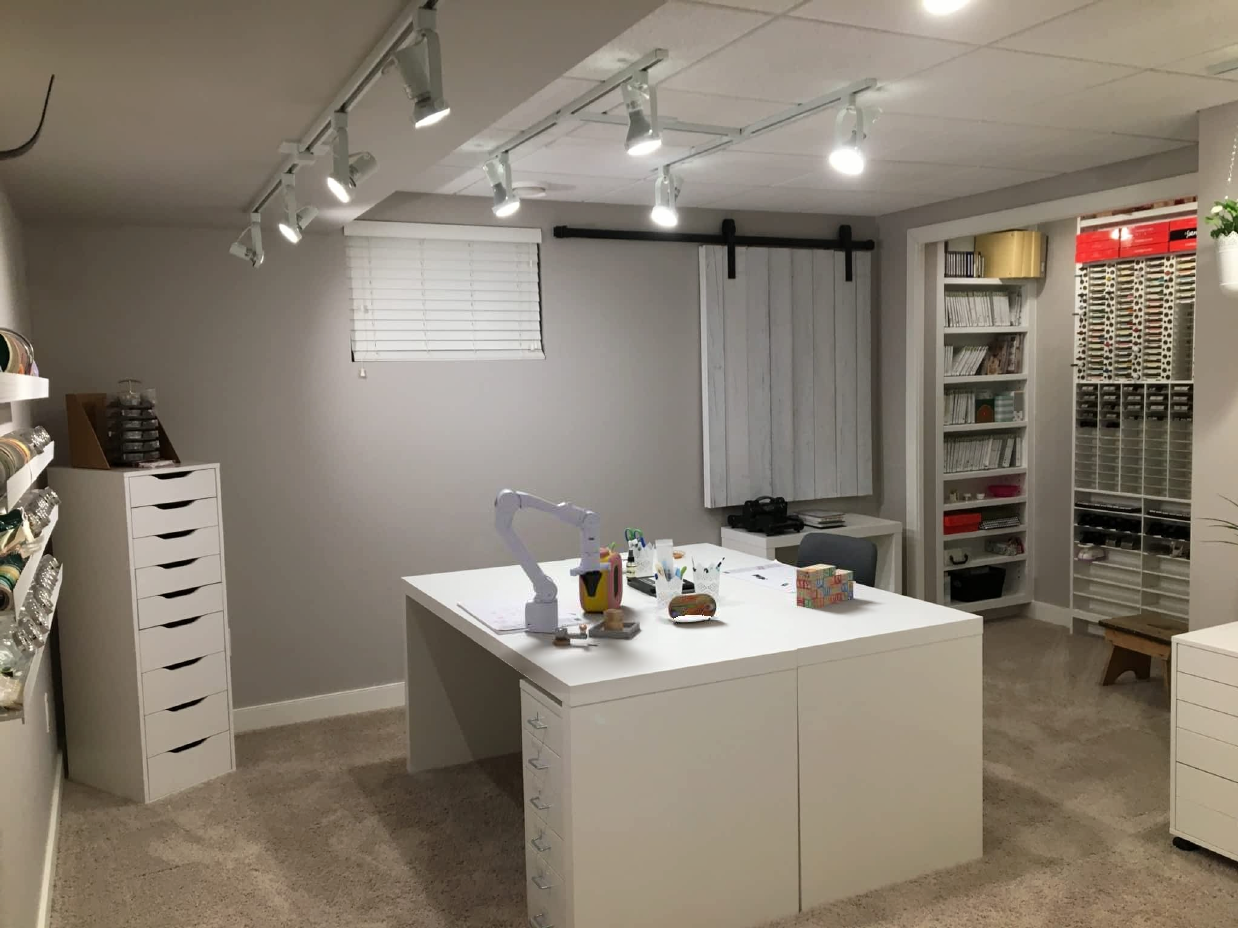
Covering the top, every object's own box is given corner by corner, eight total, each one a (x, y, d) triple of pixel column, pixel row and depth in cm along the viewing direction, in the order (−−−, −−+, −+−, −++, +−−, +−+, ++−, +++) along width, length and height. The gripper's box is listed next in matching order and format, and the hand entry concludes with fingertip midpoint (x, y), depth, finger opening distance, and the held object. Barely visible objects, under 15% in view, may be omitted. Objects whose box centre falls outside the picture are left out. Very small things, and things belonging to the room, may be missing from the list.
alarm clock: (612, 616, 316) (611, 555, 314) (578, 615, 318) (576, 554, 317) (624, 603, 334) (622, 545, 332) (591, 602, 336) (590, 545, 335)
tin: (670, 624, 305) (670, 597, 304) (667, 622, 308) (666, 594, 307) (717, 620, 309) (716, 593, 308) (713, 617, 312) (712, 591, 311)
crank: (553, 639, 283) (552, 625, 283) (557, 636, 287) (557, 622, 286) (585, 641, 281) (584, 627, 280) (588, 638, 284) (588, 624, 284)
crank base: (550, 645, 283) (549, 641, 283) (556, 640, 288) (556, 636, 288) (594, 647, 279) (594, 643, 279) (599, 643, 284) (599, 639, 284)
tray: (588, 636, 292) (588, 629, 291) (601, 626, 303) (601, 620, 303) (628, 638, 288) (628, 632, 288) (639, 628, 300) (639, 622, 299)
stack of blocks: (838, 596, 340) (838, 559, 339) (853, 598, 335) (853, 562, 334) (796, 605, 326) (795, 568, 325) (811, 609, 321) (810, 570, 320)
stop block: (603, 631, 295) (603, 611, 294) (612, 628, 298) (611, 608, 298) (614, 633, 292) (614, 612, 292) (623, 630, 296) (622, 610, 295)
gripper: (580, 556, 294) (581, 602, 295) (617, 549, 303) (618, 594, 304) (565, 553, 299) (566, 598, 300) (602, 547, 309) (603, 591, 310)
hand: (591, 596), depth 303 cm, fingers closed
